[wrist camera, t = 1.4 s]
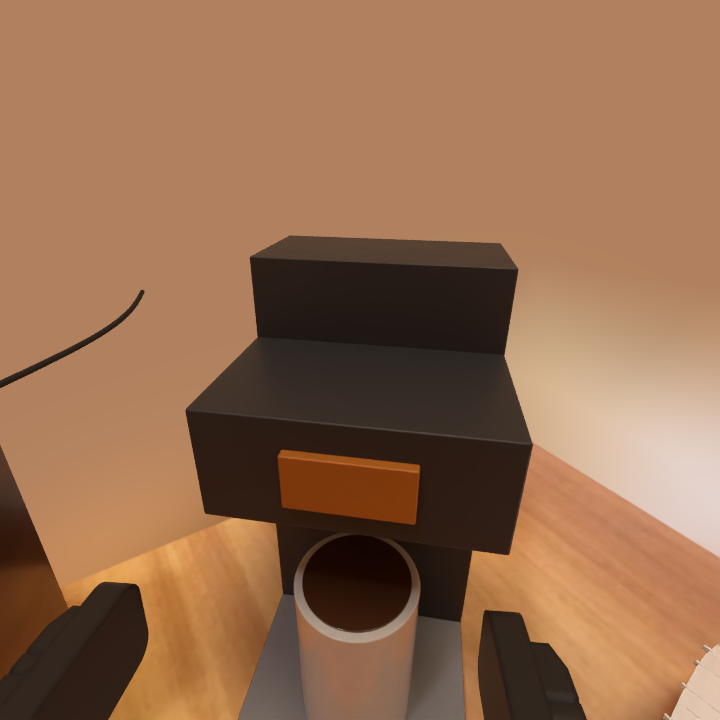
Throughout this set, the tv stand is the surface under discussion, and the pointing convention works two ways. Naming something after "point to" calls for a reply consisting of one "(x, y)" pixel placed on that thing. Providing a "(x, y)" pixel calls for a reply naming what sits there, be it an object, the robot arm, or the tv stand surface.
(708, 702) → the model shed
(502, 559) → the tv stand surface
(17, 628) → the brown box
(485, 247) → the coffee machine
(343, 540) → the white cup
